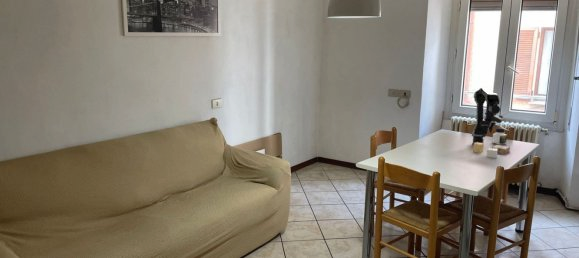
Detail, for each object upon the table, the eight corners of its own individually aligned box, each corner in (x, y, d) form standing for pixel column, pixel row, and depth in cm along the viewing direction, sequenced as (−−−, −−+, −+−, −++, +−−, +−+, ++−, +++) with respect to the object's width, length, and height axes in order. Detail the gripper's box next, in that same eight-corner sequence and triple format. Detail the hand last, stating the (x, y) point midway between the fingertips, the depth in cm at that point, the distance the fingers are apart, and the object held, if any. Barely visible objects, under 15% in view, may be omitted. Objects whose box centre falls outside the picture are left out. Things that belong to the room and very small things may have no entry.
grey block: (486, 156, 313) (487, 149, 312) (487, 154, 318) (488, 147, 317) (496, 157, 310) (496, 150, 309) (497, 155, 315) (497, 148, 314)
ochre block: (472, 151, 326) (473, 143, 325) (475, 150, 330) (476, 142, 328) (480, 152, 323) (480, 144, 321) (482, 151, 326) (483, 143, 325)
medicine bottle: (499, 144, 347) (500, 129, 344) (491, 142, 353) (493, 127, 351) (506, 143, 350) (507, 128, 347) (498, 141, 356) (500, 126, 354)
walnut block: (491, 152, 325) (492, 147, 324) (496, 150, 331) (496, 144, 330) (504, 154, 319) (505, 149, 318) (509, 152, 325) (510, 147, 324)
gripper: (497, 114, 308) (495, 137, 312) (506, 111, 322) (504, 132, 325) (481, 112, 316) (479, 134, 319) (490, 109, 329) (488, 130, 332)
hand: (488, 133), depth 324 cm, fingers open, 9 cm apart
